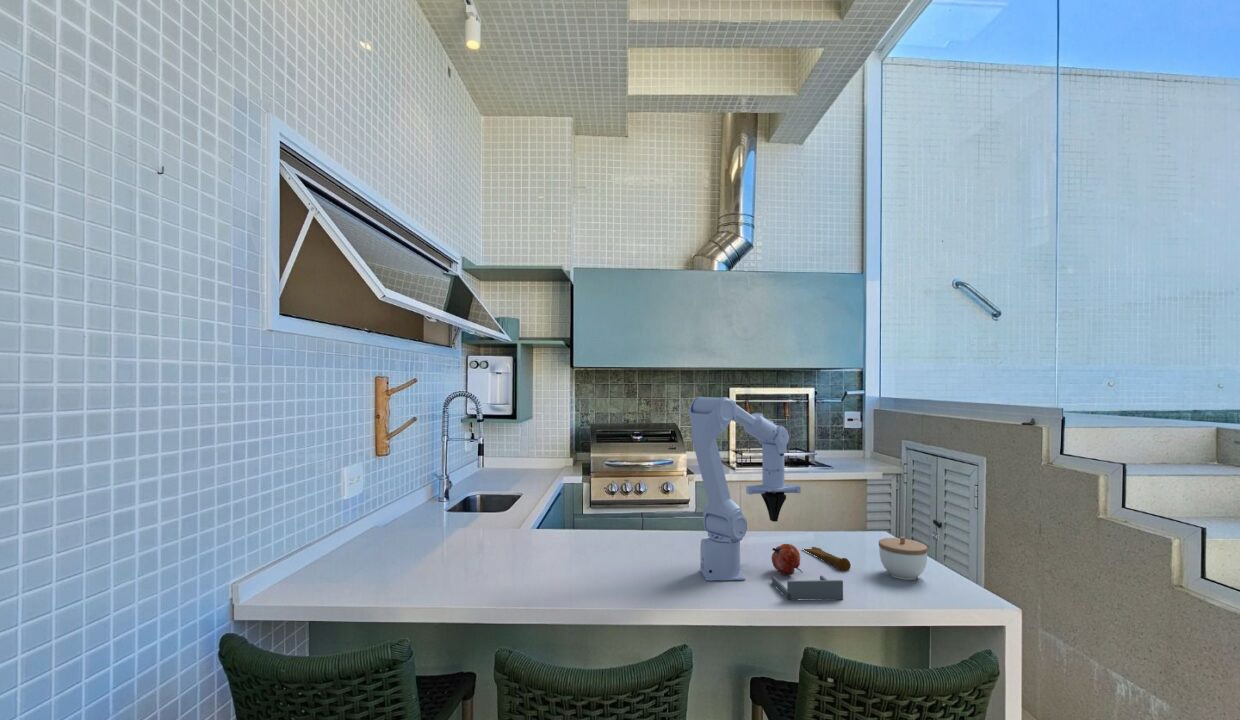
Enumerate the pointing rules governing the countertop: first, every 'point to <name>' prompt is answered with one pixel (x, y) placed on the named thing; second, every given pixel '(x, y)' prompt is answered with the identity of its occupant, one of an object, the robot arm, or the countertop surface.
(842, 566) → the primitive tool
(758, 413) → the robot arm
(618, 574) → the countertop surface
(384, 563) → the countertop surface
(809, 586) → the box
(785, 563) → the pomegranate
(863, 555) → the countertop surface
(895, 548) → the lidded jar
